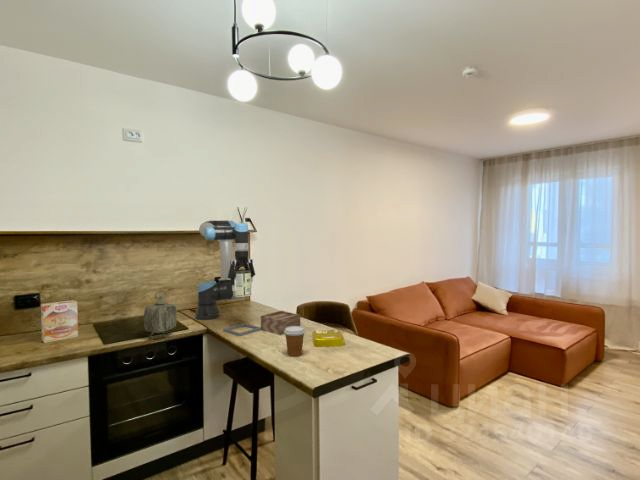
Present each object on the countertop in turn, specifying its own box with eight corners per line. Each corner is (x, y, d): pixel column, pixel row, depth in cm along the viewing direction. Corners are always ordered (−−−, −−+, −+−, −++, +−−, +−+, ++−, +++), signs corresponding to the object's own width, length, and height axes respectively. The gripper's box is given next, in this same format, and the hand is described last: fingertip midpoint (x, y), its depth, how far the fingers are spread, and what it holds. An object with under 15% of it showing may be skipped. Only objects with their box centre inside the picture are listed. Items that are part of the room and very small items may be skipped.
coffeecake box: (44, 343, 181) (43, 305, 180) (41, 340, 186) (40, 303, 185) (78, 336, 192) (77, 301, 191) (75, 334, 197) (74, 299, 196)
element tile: (314, 348, 172) (314, 338, 172) (312, 338, 187) (311, 329, 187) (344, 346, 173) (344, 337, 173) (339, 337, 188) (339, 328, 188)
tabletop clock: (167, 332, 199) (166, 288, 198) (178, 334, 194) (177, 289, 194) (144, 339, 186) (143, 292, 185) (155, 342, 182) (154, 294, 181)
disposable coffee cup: (284, 351, 167) (284, 326, 166) (304, 350, 168) (304, 325, 167) (284, 358, 157) (284, 331, 157) (305, 357, 158) (305, 331, 158)
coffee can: (236, 293, 206) (236, 269, 206) (253, 293, 205) (253, 269, 205) (230, 296, 196) (229, 271, 195) (248, 297, 195) (247, 271, 194)
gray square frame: (223, 331, 200) (223, 328, 200) (244, 325, 212) (244, 323, 212) (239, 336, 190) (239, 333, 190) (260, 330, 202) (260, 327, 202)
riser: (261, 329, 203) (260, 315, 202) (281, 324, 215) (281, 310, 214) (280, 335, 192) (279, 320, 192) (300, 328, 204) (300, 314, 204)
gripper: (228, 251, 189) (229, 293, 189) (261, 249, 206) (261, 287, 206) (220, 251, 194) (221, 291, 194) (253, 249, 211) (253, 286, 211)
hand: (242, 289), depth 200 cm, fingers closed on coffee can, 10 cm apart
